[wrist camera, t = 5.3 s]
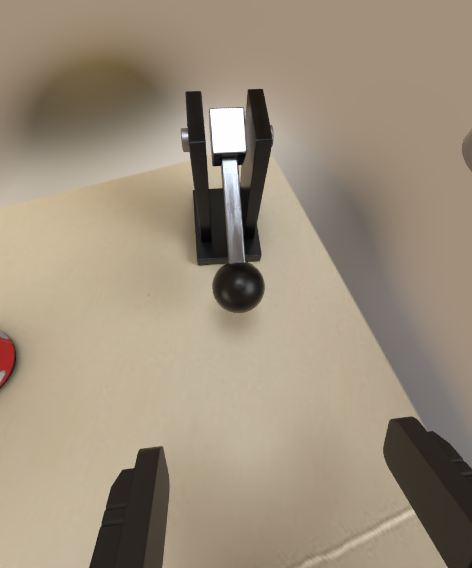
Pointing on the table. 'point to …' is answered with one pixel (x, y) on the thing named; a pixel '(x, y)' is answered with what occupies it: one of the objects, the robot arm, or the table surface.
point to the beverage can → (6, 358)
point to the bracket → (211, 200)
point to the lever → (233, 213)
